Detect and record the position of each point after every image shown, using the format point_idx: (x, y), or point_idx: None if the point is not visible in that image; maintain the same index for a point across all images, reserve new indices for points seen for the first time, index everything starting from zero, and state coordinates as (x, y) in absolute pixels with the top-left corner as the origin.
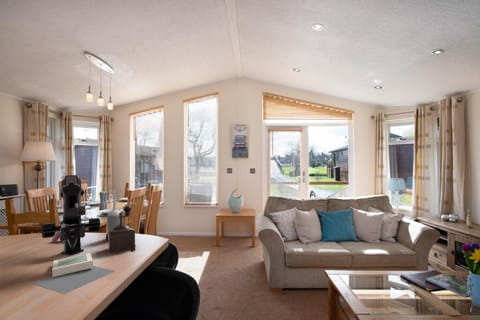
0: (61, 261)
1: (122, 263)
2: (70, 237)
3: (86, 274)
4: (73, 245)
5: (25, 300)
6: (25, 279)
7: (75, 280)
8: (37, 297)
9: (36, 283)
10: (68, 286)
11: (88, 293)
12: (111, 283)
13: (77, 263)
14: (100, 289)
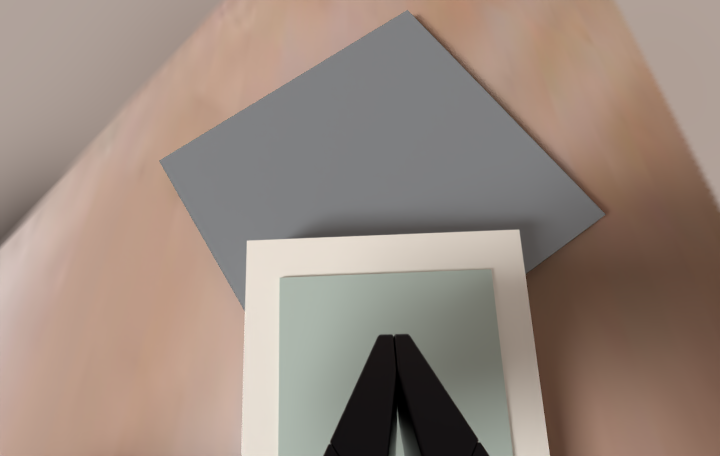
0: (484, 435)
1: (86, 314)
2: (440, 453)
3: (310, 190)
4: (383, 342)
5: (564, 57)
6: (674, 356)
7: (367, 133)
8: (519, 63)
9: (571, 195)
10: (397, 76)
11: (316, 9)
12: (216, 58)
13: (353, 248)
14: (268, 22)
